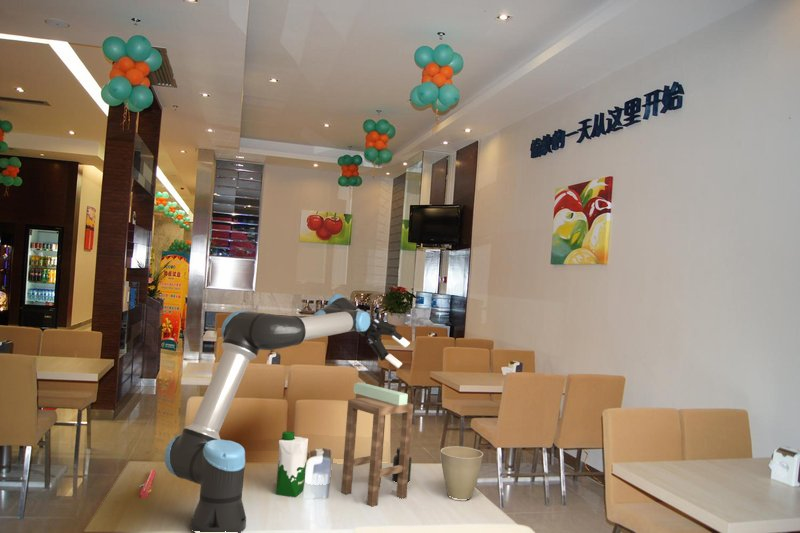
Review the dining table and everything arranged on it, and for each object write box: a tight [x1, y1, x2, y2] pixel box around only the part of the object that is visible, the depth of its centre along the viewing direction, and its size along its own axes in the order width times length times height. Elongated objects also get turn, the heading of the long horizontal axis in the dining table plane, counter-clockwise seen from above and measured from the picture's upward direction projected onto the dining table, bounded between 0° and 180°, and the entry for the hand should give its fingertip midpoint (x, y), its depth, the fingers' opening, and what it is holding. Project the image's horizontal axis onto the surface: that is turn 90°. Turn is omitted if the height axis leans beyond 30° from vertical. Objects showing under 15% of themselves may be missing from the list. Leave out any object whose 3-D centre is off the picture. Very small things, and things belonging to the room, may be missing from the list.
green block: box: [353, 382, 409, 405], centre depth 217 cm, size 24×4×4 cm, turn 44°
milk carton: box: [275, 430, 309, 498], centre depth 206 cm, size 9×9×20 cm
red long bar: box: [139, 469, 156, 499], centre depth 203 cm, size 24×2×5 cm
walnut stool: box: [340, 396, 414, 508], centre depth 210 cm, size 16×16×32 cm
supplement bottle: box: [391, 446, 413, 483], centre depth 227 cm, size 7×7×12 cm
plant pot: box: [440, 446, 484, 499], centre depth 214 cm, size 15×15×16 cm
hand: (404, 356), depth 229 cm, fingers open, 13 cm apart
